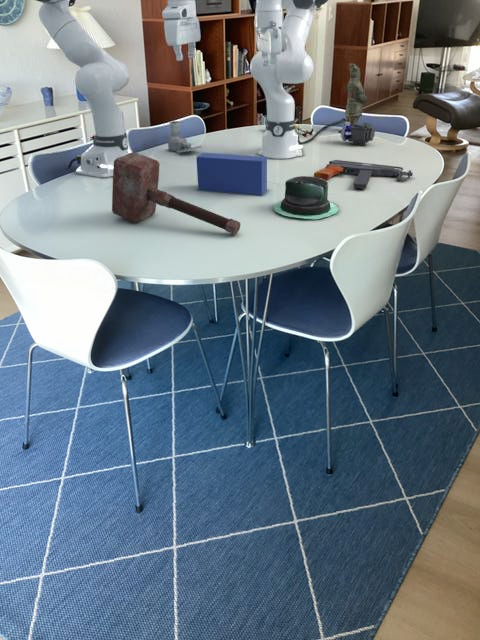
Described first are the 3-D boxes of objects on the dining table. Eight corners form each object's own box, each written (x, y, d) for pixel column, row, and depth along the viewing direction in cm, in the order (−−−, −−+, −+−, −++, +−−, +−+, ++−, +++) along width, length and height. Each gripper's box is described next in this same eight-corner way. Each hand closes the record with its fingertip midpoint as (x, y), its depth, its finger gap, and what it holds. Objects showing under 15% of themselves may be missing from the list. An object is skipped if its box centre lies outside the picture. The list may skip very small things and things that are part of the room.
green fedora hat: (344, 197, 179) (337, 220, 163) (293, 220, 188) (282, 244, 171) (324, 156, 174) (314, 175, 157) (272, 181, 182) (259, 202, 166)
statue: (367, 132, 266) (374, 63, 251) (349, 133, 264) (355, 64, 249) (357, 127, 275) (362, 61, 260) (339, 129, 273) (344, 62, 258)
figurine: (302, 128, 254) (260, 115, 266) (300, 145, 258) (258, 131, 270) (318, 123, 263) (276, 111, 275) (315, 139, 267) (274, 127, 279)
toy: (345, 120, 249) (377, 123, 242) (343, 139, 253) (375, 143, 246) (337, 123, 243) (369, 127, 236) (336, 143, 247) (367, 147, 240)
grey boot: (176, 119, 242) (200, 124, 233) (178, 147, 248) (202, 152, 239) (161, 122, 236) (185, 127, 227) (163, 150, 242) (187, 156, 234)
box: (198, 190, 193) (196, 156, 187) (204, 185, 198) (203, 152, 192) (261, 195, 186) (261, 161, 181) (266, 190, 191) (267, 156, 186)
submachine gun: (306, 175, 196) (332, 158, 214) (306, 183, 197) (332, 166, 216) (396, 187, 182) (415, 168, 201) (395, 195, 183) (414, 175, 202)
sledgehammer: (250, 194, 153) (132, 150, 165) (234, 205, 146) (112, 158, 158) (240, 249, 164) (129, 203, 175) (224, 261, 156) (110, 213, 168)
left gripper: (186, 10, 186) (189, 56, 193) (159, 12, 169) (164, 62, 176) (203, 10, 184) (206, 55, 191) (178, 12, 167) (182, 62, 174)
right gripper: (286, 22, 172) (285, 70, 179) (270, 20, 189) (270, 64, 196) (267, 22, 171) (266, 71, 178) (252, 20, 188) (253, 65, 195)
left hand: (185, 59), depth 183 cm, fingers open, 8 cm apart
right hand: (268, 67), depth 187 cm, fingers open, 8 cm apart
